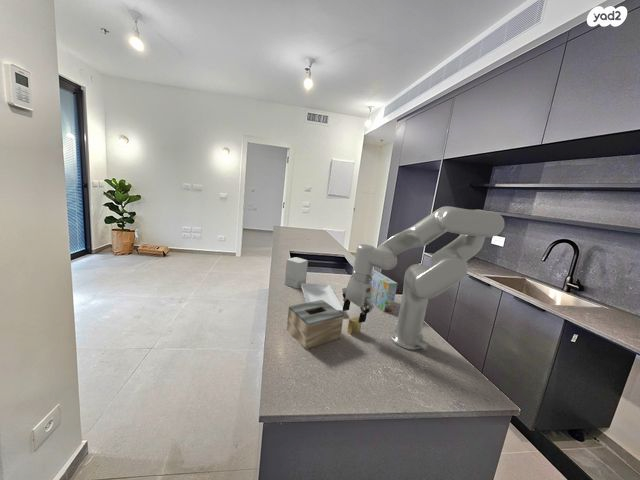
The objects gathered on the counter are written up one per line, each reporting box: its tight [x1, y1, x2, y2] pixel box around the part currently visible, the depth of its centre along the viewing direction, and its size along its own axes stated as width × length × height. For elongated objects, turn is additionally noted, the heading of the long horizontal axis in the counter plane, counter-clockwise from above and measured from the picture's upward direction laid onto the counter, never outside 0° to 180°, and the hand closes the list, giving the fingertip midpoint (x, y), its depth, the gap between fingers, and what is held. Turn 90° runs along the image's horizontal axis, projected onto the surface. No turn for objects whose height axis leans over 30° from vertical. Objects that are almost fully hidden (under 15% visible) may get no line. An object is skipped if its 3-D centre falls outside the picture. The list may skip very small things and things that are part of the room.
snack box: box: [370, 269, 399, 313], centre depth 139 cm, size 21×6×15 cm, turn 22°
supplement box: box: [284, 256, 309, 289], centre depth 150 cm, size 9×9×15 cm
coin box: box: [286, 300, 344, 350], centre depth 103 cm, size 14×16×10 cm
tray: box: [300, 282, 344, 313], centre depth 134 cm, size 17×31×4 cm, turn 12°
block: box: [347, 316, 362, 336], centre depth 108 cm, size 2×5×6 cm, turn 126°
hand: (353, 315), depth 107 cm, fingers open, 9 cm apart
